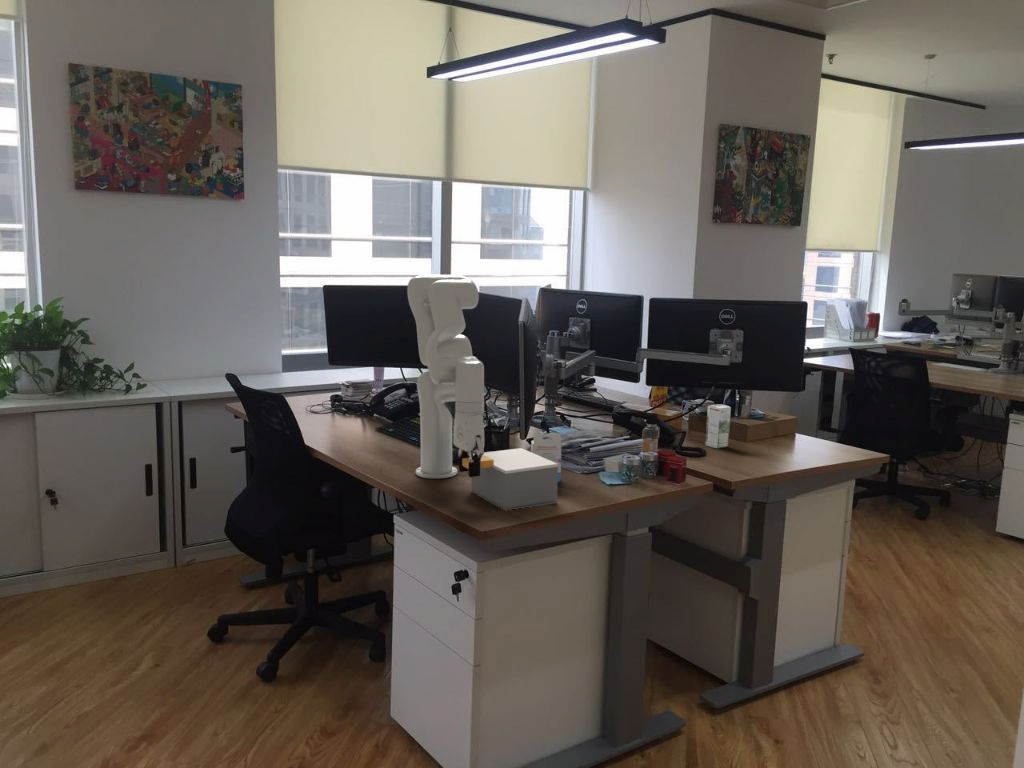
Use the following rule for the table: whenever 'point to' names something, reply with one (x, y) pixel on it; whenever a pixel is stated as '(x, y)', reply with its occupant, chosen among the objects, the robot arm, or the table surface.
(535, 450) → the ink box
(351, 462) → the table surface
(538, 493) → the carton
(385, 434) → the table surface
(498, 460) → the lid flap
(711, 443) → the syrup box
